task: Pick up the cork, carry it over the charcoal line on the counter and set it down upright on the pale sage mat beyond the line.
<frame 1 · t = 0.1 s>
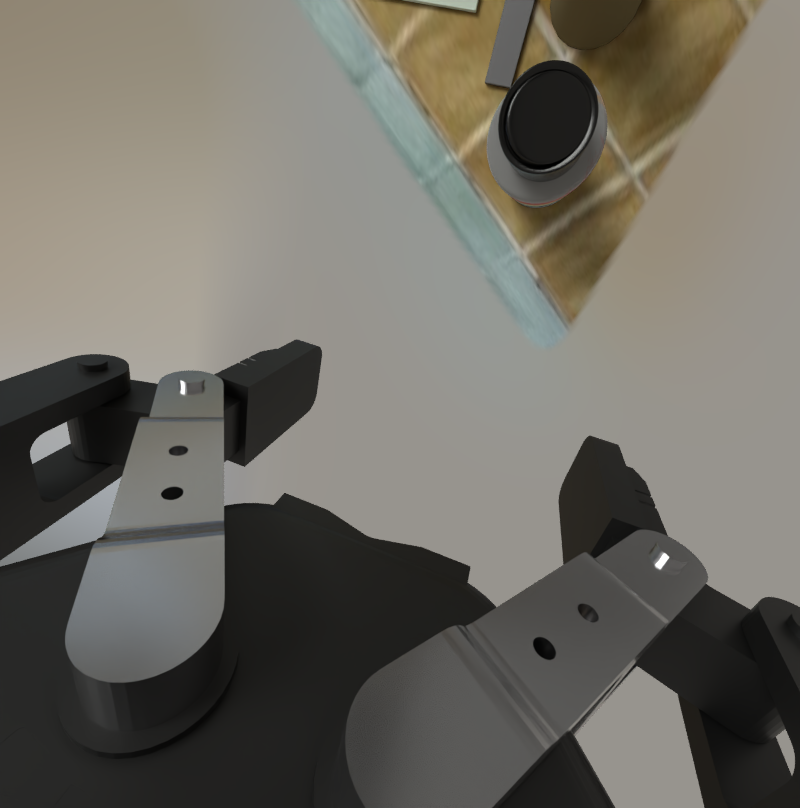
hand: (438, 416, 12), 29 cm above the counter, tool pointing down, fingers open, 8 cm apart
lotion bottle: (541, 169, 34), on the counter
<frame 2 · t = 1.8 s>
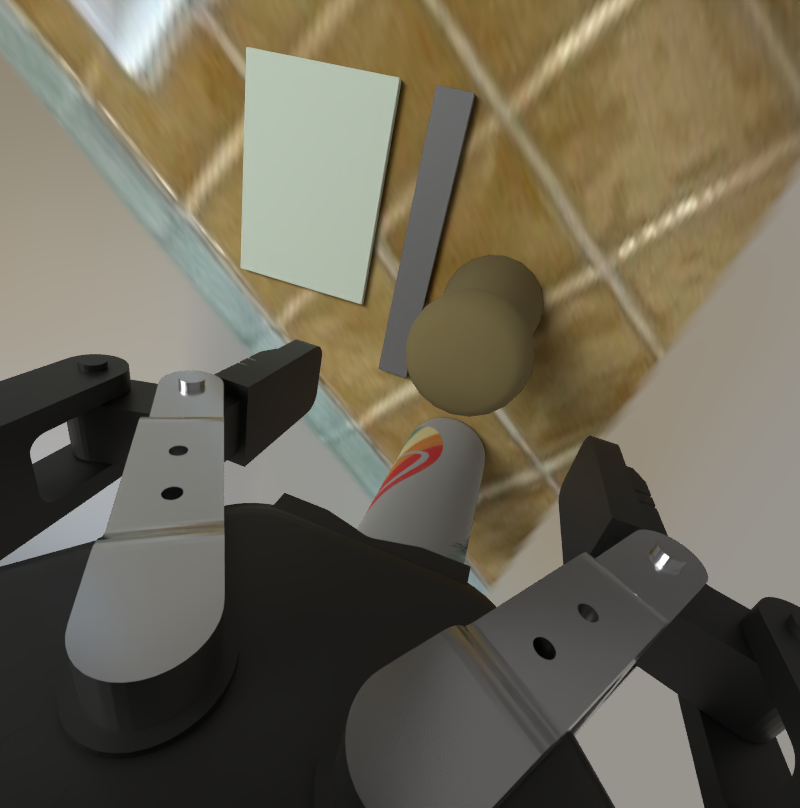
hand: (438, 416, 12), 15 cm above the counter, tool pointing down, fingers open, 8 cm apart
lotion bottle: (447, 449, 30), on the counter
charcoal line: (420, 252, 25), on the counter
cork: (491, 307, 25), on the counter
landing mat: (311, 186, 25), on the counter
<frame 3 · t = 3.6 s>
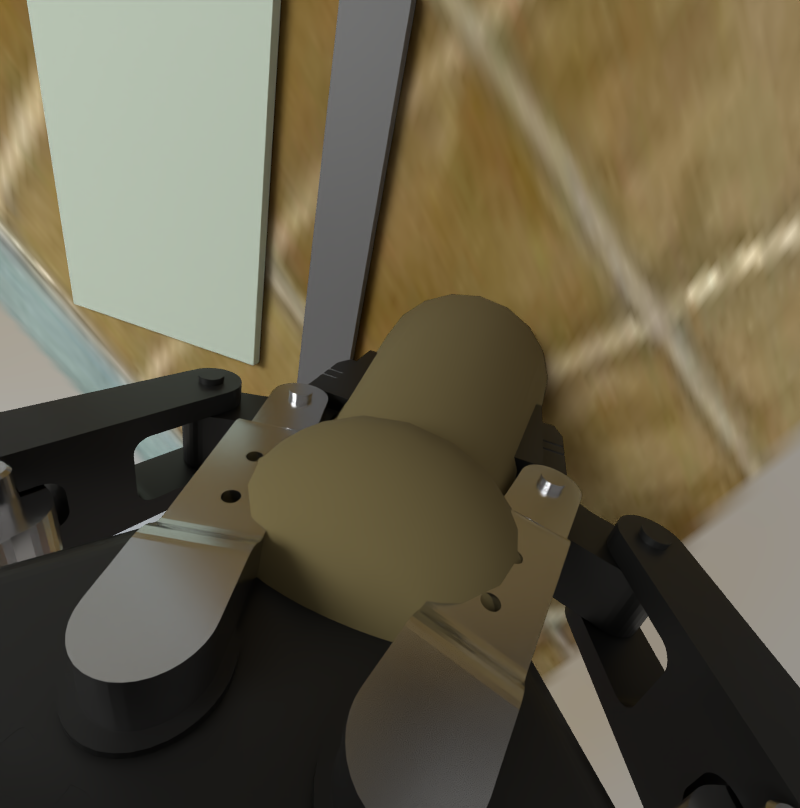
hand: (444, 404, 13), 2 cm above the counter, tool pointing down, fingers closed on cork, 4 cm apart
charcoal line: (339, 285, 15), on the counter
cork: (459, 377, 15), on the counter, touching gripper
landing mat: (159, 175, 15), on the counter
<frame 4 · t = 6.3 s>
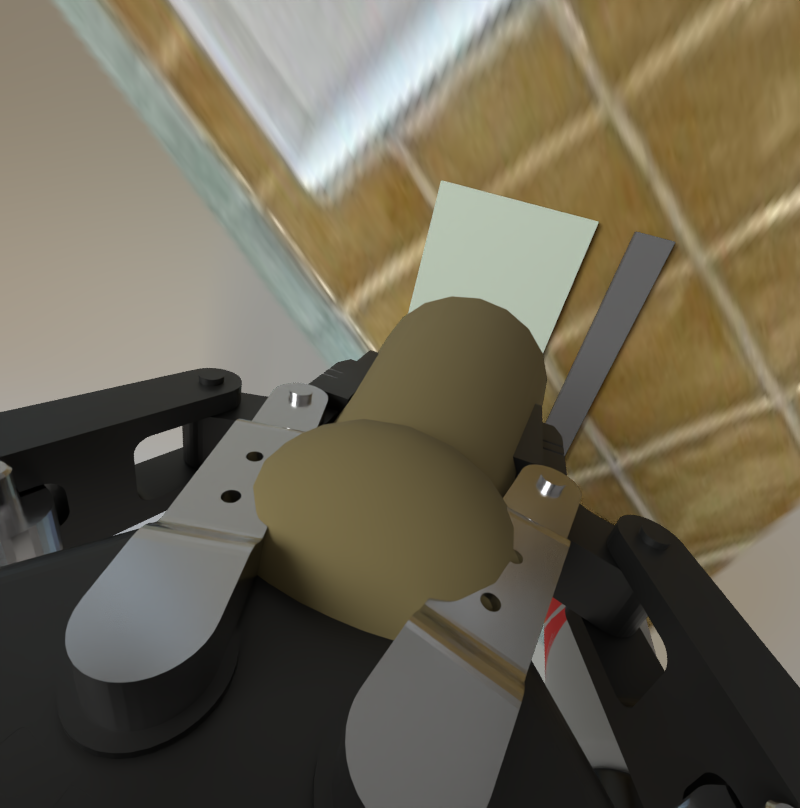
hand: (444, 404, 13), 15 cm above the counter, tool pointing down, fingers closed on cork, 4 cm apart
lotion bottle: (582, 541, 31), on the counter
charcoal line: (588, 369, 26), on the counter
cork: (459, 379, 15), point 13 cm above the counter, touching gripper
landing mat: (483, 303, 26), on the counter
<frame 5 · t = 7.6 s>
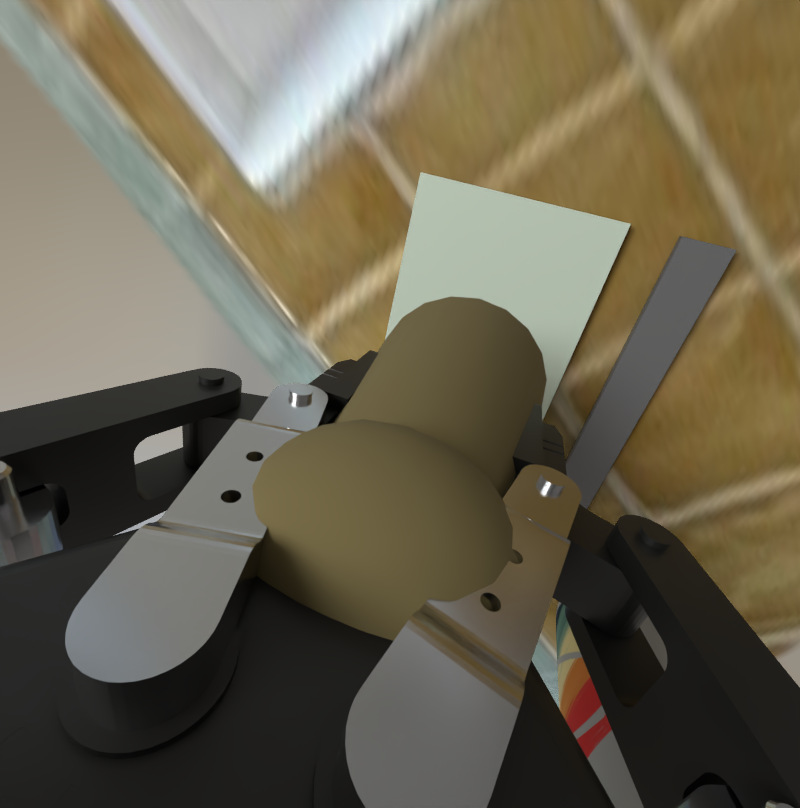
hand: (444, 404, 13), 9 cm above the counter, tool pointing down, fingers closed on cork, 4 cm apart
lotion bottle: (604, 612, 26), on the counter
charcoal line: (614, 412, 20), on the counter
cork: (458, 379, 15), point 6 cm above the counter, touching gripper
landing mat: (479, 329, 21), on the counter
when the fingers open (4 cm above the counter, at t = 8.9 s): cork stays where it is, resting on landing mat.
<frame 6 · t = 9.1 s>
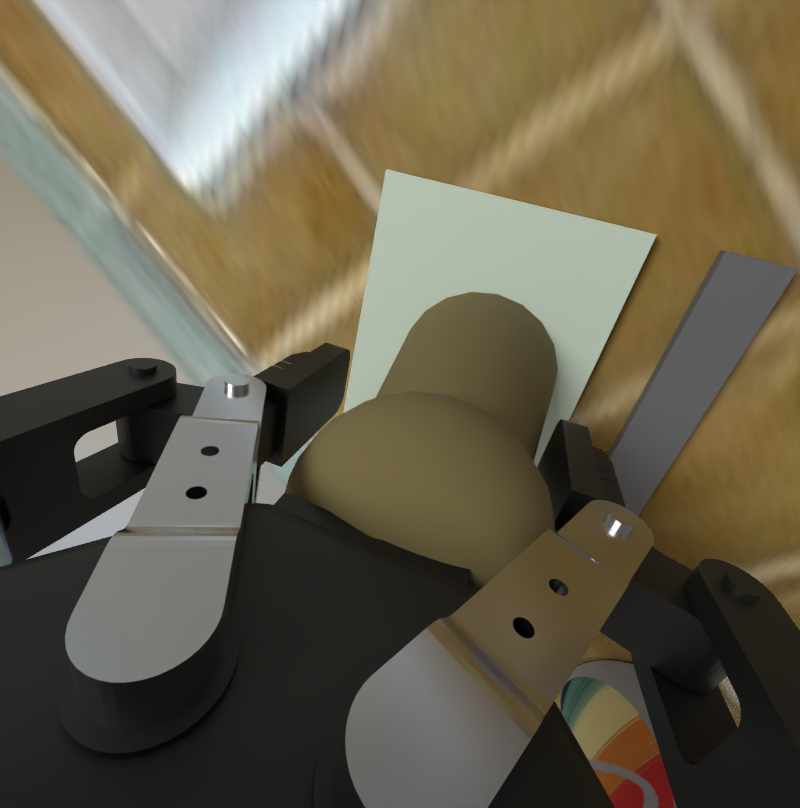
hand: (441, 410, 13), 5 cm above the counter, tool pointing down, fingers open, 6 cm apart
lotion bottle: (617, 691, 22), on the counter
charcoal line: (632, 466, 16), on the counter
cork: (475, 369, 16), resting on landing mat
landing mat: (464, 363, 17), on the counter
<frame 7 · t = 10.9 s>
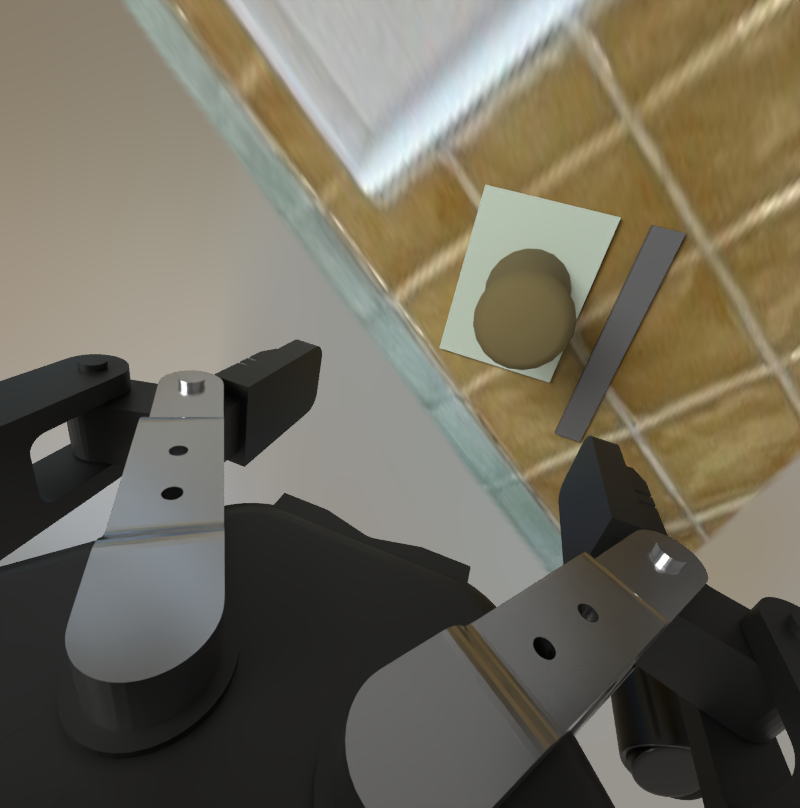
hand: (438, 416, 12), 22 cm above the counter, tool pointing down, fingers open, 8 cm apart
lotion bottle: (604, 500, 35), on the counter
charcoal line: (611, 345, 30), on the counter
cork: (526, 292, 30), resting on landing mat
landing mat: (519, 289, 30), on the counter
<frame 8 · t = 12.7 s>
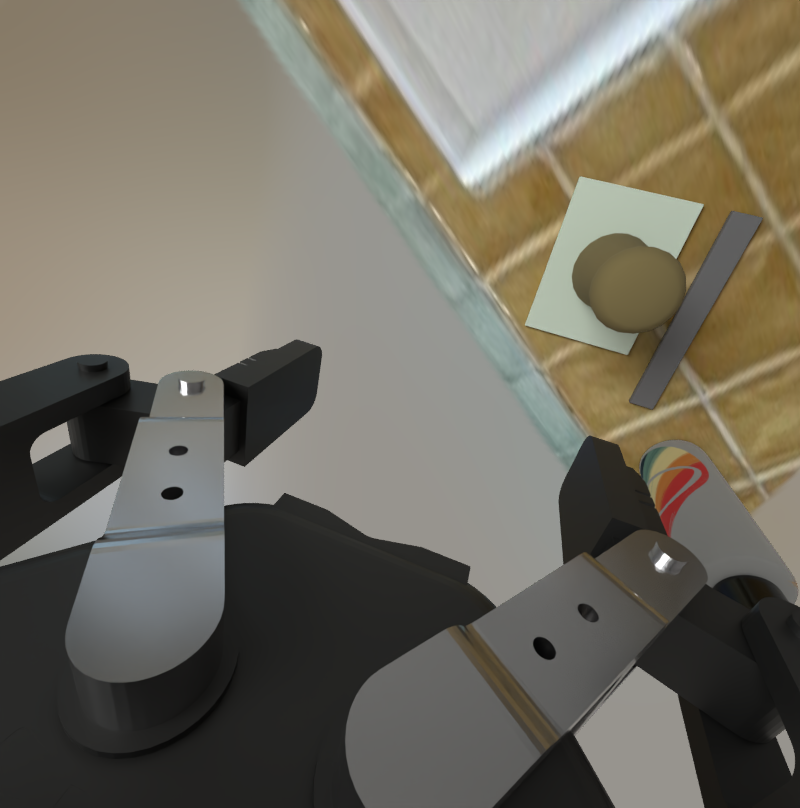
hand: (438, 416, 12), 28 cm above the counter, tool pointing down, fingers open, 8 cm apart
lotion bottle: (671, 463, 39), on the counter
charcoal line: (687, 319, 34), on the counter
cork: (611, 272, 34), resting on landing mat
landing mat: (604, 270, 34), on the counter
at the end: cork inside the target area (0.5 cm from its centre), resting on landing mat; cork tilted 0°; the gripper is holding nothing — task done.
